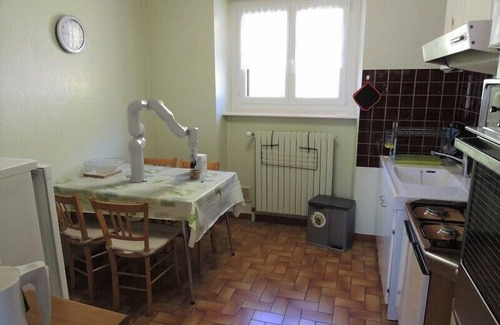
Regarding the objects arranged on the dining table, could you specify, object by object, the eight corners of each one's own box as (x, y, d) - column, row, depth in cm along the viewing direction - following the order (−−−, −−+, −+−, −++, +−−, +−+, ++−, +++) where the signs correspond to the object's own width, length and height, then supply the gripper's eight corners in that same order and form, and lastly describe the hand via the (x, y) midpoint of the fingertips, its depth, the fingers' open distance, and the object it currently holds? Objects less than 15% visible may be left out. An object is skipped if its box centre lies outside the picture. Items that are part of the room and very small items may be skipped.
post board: (173, 182, 255) (172, 174, 253) (176, 176, 272) (176, 168, 271) (203, 182, 256) (203, 174, 255) (205, 176, 273) (204, 168, 272)
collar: (189, 179, 258) (189, 171, 257) (190, 177, 265) (190, 169, 264) (199, 179, 259) (198, 171, 257) (199, 177, 266) (199, 169, 264)
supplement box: (192, 173, 280) (191, 155, 277) (197, 171, 289) (197, 153, 285) (201, 174, 277) (201, 156, 274) (207, 172, 285) (206, 154, 282)
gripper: (197, 146, 248) (197, 169, 252) (199, 142, 265) (199, 164, 269) (186, 146, 248) (186, 169, 251) (189, 142, 265) (189, 164, 268)
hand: (193, 166), depth 260 cm, fingers open, 9 cm apart
